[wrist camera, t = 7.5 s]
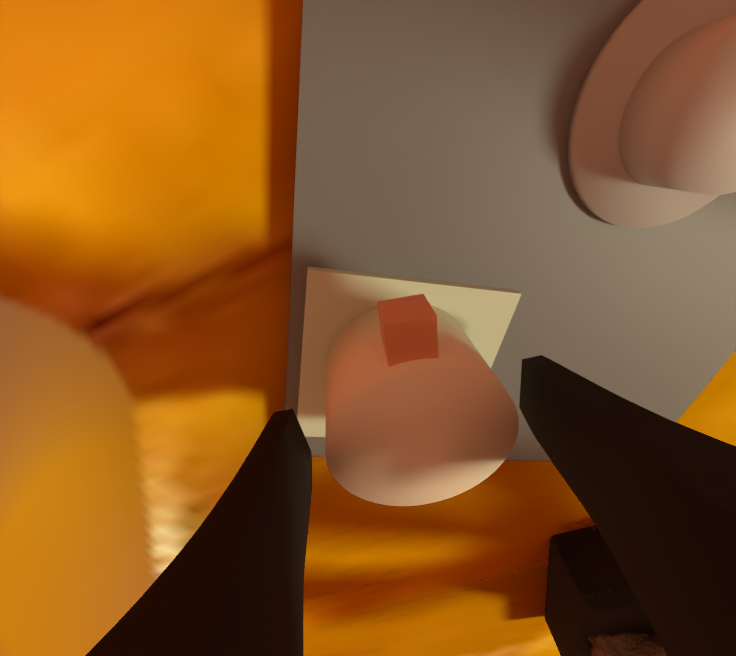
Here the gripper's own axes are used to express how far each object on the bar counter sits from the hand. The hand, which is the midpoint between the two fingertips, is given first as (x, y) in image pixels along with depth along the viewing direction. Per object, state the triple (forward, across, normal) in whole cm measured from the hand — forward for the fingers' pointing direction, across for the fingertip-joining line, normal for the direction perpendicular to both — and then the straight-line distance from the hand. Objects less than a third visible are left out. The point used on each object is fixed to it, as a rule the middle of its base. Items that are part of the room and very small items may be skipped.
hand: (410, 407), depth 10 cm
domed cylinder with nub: (+2, 0, 0) cm, 2 cm away
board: (+3, -6, -1) cm, 7 cm away
